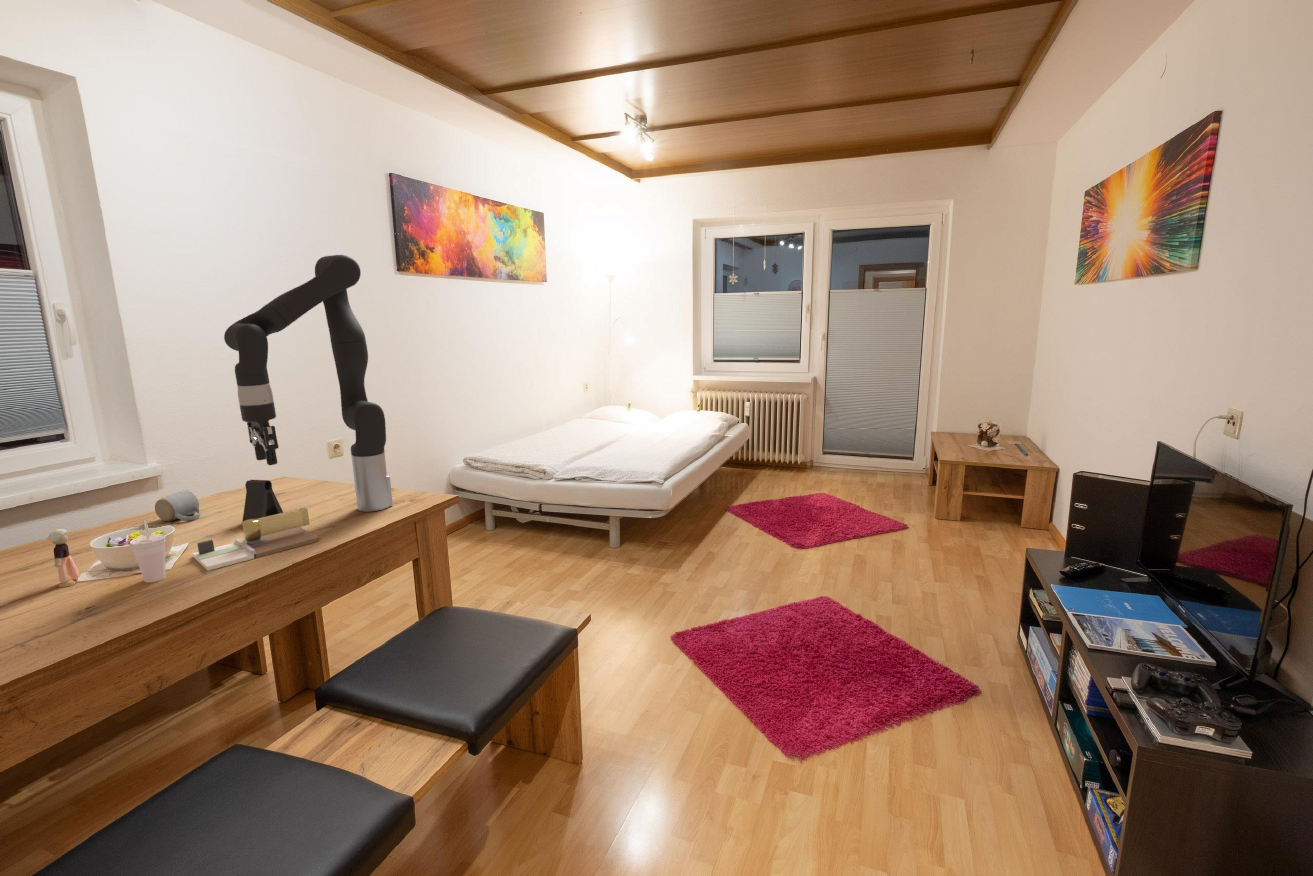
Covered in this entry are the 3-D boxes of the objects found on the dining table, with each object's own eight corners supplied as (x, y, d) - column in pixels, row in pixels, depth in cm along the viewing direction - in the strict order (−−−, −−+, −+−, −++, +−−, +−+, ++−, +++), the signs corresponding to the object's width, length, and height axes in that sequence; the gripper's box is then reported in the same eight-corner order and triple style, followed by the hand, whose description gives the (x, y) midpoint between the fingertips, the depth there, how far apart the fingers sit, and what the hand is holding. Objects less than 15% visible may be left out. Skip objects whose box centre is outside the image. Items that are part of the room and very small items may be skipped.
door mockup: (300, 530, 168) (298, 517, 167) (318, 541, 160) (317, 527, 159) (192, 556, 150) (190, 542, 149) (207, 570, 142) (205, 555, 141)
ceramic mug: (154, 521, 176) (150, 496, 175) (181, 512, 184) (178, 488, 182) (183, 524, 174) (179, 499, 172) (209, 515, 182) (206, 491, 180)
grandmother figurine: (81, 584, 135) (69, 531, 132) (57, 590, 132) (44, 535, 130) (80, 574, 140) (69, 522, 138) (57, 579, 138) (45, 527, 135)
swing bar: (247, 541, 153) (244, 524, 152) (242, 538, 155) (240, 521, 154) (310, 526, 164) (308, 509, 163) (305, 523, 166) (303, 506, 165)
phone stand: (260, 525, 172) (254, 485, 170) (242, 524, 173) (235, 484, 171) (284, 515, 181) (279, 476, 178) (266, 514, 182) (261, 475, 179)
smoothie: (143, 587, 133) (131, 527, 130) (132, 581, 136) (120, 522, 134) (178, 576, 138) (167, 519, 136) (166, 570, 142) (155, 514, 139)
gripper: (282, 402, 154) (292, 463, 158) (263, 397, 164) (273, 455, 167) (248, 406, 149) (259, 469, 153) (231, 401, 158) (242, 461, 162)
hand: (266, 462), depth 160 cm, fingers open, 8 cm apart
